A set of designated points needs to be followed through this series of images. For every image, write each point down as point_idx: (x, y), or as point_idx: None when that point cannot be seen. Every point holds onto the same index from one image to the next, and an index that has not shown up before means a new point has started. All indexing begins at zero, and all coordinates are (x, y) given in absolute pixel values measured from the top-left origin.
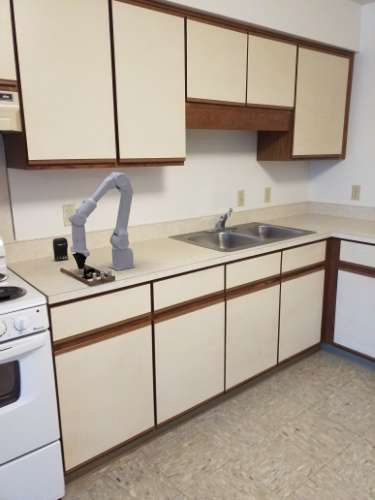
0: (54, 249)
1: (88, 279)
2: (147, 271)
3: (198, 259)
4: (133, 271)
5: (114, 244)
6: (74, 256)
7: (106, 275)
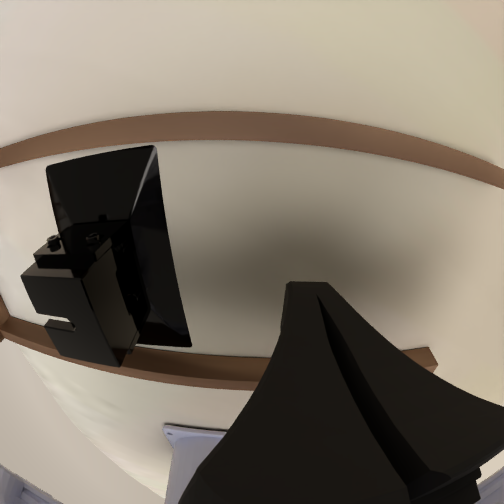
0: None
1: (56, 220)
2: (102, 439)
3: (161, 492)
4: (121, 431)
5: None
6: (431, 438)
7: (47, 340)
